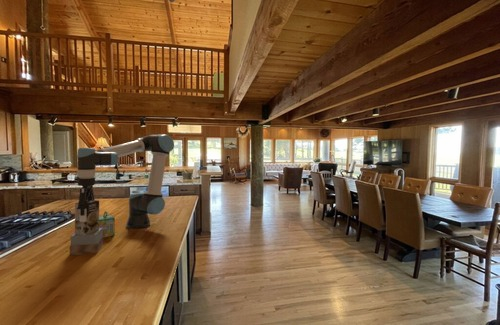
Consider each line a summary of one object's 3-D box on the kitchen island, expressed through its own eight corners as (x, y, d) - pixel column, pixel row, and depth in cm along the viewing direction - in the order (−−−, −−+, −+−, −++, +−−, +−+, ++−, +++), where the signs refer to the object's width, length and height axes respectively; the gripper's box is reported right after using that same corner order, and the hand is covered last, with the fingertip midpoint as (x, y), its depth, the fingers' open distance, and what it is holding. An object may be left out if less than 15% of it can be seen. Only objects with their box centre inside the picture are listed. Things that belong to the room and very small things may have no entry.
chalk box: (93, 235, 146) (93, 211, 145) (110, 232, 153) (110, 209, 152) (97, 239, 140) (97, 214, 139) (115, 235, 146) (115, 212, 146)
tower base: (103, 244, 133) (103, 236, 133) (97, 253, 122) (97, 244, 122) (77, 247, 129) (77, 238, 129) (69, 256, 118) (69, 246, 118)
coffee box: (85, 235, 120) (84, 203, 119) (74, 234, 121) (74, 203, 120) (99, 229, 129) (99, 200, 128) (89, 228, 130) (89, 199, 129)
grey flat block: (102, 236, 132) (102, 227, 132) (95, 244, 122) (95, 234, 122) (80, 238, 129) (79, 229, 129) (70, 245, 119) (70, 236, 119)
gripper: (85, 175, 134) (85, 212, 135) (69, 180, 110) (69, 225, 111) (100, 175, 136) (100, 211, 137) (88, 180, 113) (88, 224, 114)
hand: (86, 218), depth 124 cm, fingers open, 13 cm apart
